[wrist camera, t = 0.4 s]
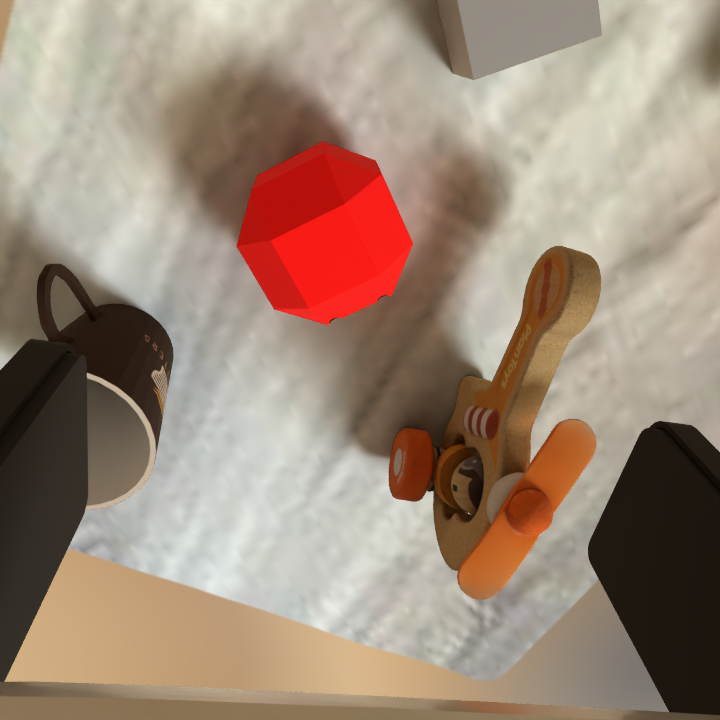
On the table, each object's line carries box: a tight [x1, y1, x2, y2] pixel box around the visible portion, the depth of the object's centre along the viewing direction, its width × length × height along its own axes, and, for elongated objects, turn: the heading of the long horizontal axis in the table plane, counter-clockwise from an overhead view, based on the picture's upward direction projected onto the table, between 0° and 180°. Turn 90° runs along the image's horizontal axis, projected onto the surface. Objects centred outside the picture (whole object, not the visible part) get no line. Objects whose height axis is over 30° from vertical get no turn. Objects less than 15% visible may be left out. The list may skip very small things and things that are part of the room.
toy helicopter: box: [389, 246, 601, 600], centre depth 35 cm, size 8×21×14 cm, turn 165°
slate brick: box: [437, 0, 602, 80], centre depth 30 cm, size 6×4×5 cm, turn 108°
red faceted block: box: [237, 142, 413, 325], centre depth 33 cm, size 8×8×8 cm
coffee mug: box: [37, 264, 173, 510], centre depth 34 cm, size 12×9×10 cm
